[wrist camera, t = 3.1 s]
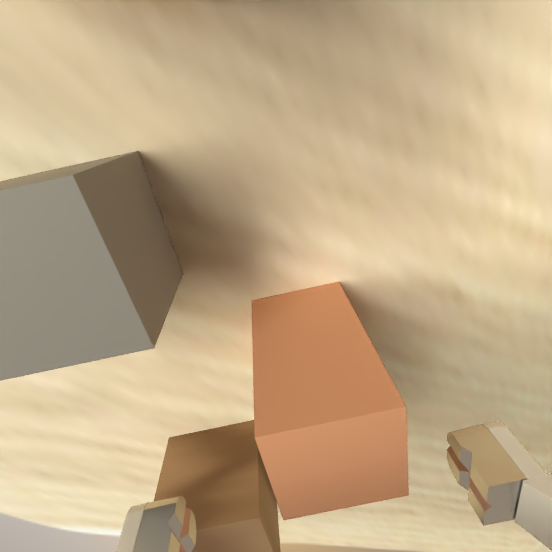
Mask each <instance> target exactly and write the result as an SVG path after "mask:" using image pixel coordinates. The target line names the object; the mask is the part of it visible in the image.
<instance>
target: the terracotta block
mask: <svg viewBox="0 0 552 552" xmlns="http://www.w3.org/2000/svg"><path fill="white" fill-rule="evenodd" d="M252 339H253V386H254V433H255V440H256V443H257V446H258V449H259V452H260V455H261V457H262V460H263V463H264V466H265V469H266V472H267V475H268V477H269V480H270V483H271V486H272V489H273V492H274V495H275V497H276V500H277V503H278V506H279V509H280V512H281V515H282V517H283V520H287V519H292V518H297V517H302V516H307V515H312V514H317V513H322V512H327V511H332V510H337V509H342V508H347V507H352V506H357V505H362V504H367V503H372V502H377V501H382V500H387V499H392V498H397V497H402V496H407V495H409V488H408V453H407V418H406V405H405V403H404V402H403V400H402V398H401V396H400V394H399V392H398V390H397V389H396V387H395V385H394V383H393V381H392V379H391V377H390V376H389V374H388V372H387V370H386V368H385V366H384V365H383V363H382V361H381V359H380V357H379V355H378V353H377V352H376V350H375V348H374V346H373V344H372V342H371V340H370V339H369V337H368V335H367V333H366V331H365V329H364V327H363V326H362V324H361V322H360V320H359V318H358V316H357V314H356V313H355V311H354V309H353V307H352V305H351V303H350V302H349V300H348V298H347V296H346V294H345V292H344V290H343V289H342V287H341V285H340V283H339V282H335V283H331V284H326V285H321V286H317V287H312V288H307V289H303V290H298V291H294V292H289V293H284V294H280V295H275V296H270V297H266V298H261V299H256V300H252Z"/></svg>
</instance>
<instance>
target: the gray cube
mask: <svg viewBox="0 0 552 552" xmlns="http://www.w3.org/2000/svg"><path fill="white" fill-rule="evenodd" d="M182 275H183V272H182V270H181V267H180V264H179V261H178V259H177V256H176V253H175V251H174V248H173V245H172V242H171V240H170V237H169V234H168V231H167V229H166V226H165V223H164V221H163V218H162V215H161V212H160V210H159V207H158V204H157V201H156V199H155V196H154V193H153V191H152V188H151V185H150V182H149V180H148V177H147V174H146V172H145V169H144V166H143V163H142V161H141V158H140V155H139V152H138V151H136V152H131V153H127V154H122V155H118V156H113V157H109V158H104V159H100V160H95V161H91V162H86V163H82V164H77V165H73V166H68V167H63V168H59V169H54V170H50V171H45V172H41V173H36V174H32V175H27V176H23V177H18V178H14V179H9V180H5V181H1V182H0V381H1V380H5V379H10V378H15V377H20V376H24V375H29V374H34V373H39V372H43V371H48V370H53V369H58V368H62V367H67V366H72V365H77V364H81V363H86V362H91V361H96V360H100V359H105V358H110V357H115V356H119V355H124V354H129V353H134V352H138V351H143V350H148V349H153V348H154V347H155V344H156V342H157V339H158V337H159V334H160V332H161V329H162V326H163V324H164V321H165V319H166V316H167V314H168V311H169V309H170V306H171V303H172V301H173V298H174V296H175V293H176V291H177V288H178V286H179V283H180V280H181V278H182Z"/></svg>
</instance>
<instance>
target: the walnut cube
mask: <svg viewBox="0 0 552 552" xmlns="http://www.w3.org/2000/svg"><path fill="white" fill-rule="evenodd" d="M181 495H182V496H183V497H184V499H185V500H186V506H185V507H186V508H189V509H191V510H192V512H193V514H194V517H195V520H196V544H195V546H194V548H193V550H192V552H280V539H279V526H278V512H277V500H276V497H275V495H274V492H273V489H272V486H271V483H270V480H269V477H268V475H267V472H266V469H265V466H264V463H263V460H262V457H261V455H260V452H259V449H258V446H257V443H256V440H255V433H254V420H252V421H247V422H243V423H238V424H233V425H228V426H223V427H218V428H214V429H209V430H204V431H199V432H194V433H189V434H184V435H180V436H175V437H170V438H169V440H168V444H167V449H166V453H165V457H164V461H163V465H162V469H161V473H160V478H159V482H158V486H157V490H156V494H155V498H154V502H155V501H160V500H164V499H168V498H172V497H177V496H181Z"/></svg>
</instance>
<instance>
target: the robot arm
mask: <svg viewBox="0 0 552 552" xmlns="http://www.w3.org/2000/svg"><path fill="white" fill-rule="evenodd" d="M447 441H448V443H449V444H450V447H449V448H448V449H447V459H448V463H449V466H450V469H451V471H452V473H453V475H454V477H455V478H456V480H457V482H458V484H460V485H461V486H463V487H464V488H466V489H467V490H469V494H468V501H469V502H470V504H471V506H472V507H473V509H474V511H475V512H476V514H477V516H478V517H479V519H480V521H481V522H482V524H483V526H484V525H489V524H494V523H499V522H504V521H509V520H514V519H515V522H516V523H517V524H519V525H520V526H521V527H522V528H524V529H525V530H526V531H527V532H529V533H530V534H531V535H533V536H534V537H535V538H536V539H538V540H539V541H540V542H541V543H543V544H544V545H545V546H547V547H548V548H549V549H550V550H552V474H547V473H546V472H545V470H544V469H543V468H542V467H541V466H540V465H539V463H538V462H537V461H536V460H535V459H534V458H533V457H532V455H531V454H530V453H529V452H528V451H527V450H526V448H525V447H524V446H523V445H522V444H521V443H520V442H519V440H518V439H517V438H516V437H515V436H514V435H513V433H512V432H511V431H510V430H509V429H508V428H507V427H506V425H505V424H503V423H502V422H500V421H494V422H490V423H486V424H482V425H476V426H472V427H469V428H465V429H461V430H457V431H453V432H449V433H448V434H447ZM185 506H186V500H185V499H184V497H183V496H182V495H181V496H177V497H172V498H168V499H164V500H160V501H155V502H151V503H145V504H141V505H137V506H133V507H131V508H130V510H129V511H128V513H127V515H126V518H125V522H124V525H123V529H122V532H121V536H120V539H119V543H118V546H117V549H116V552H192V550H193V548H194V546H195V544H196V520H195V517H194V514H193V512H192V510H191V509H189V508H186V507H185Z"/></svg>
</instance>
